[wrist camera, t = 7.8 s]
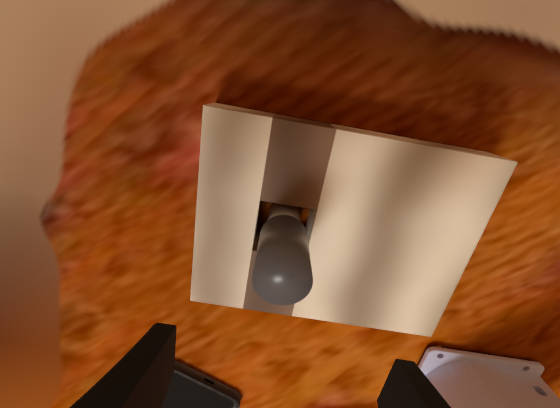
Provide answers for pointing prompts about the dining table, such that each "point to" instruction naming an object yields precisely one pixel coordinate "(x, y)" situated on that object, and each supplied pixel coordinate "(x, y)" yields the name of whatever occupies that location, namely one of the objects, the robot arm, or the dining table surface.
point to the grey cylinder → (283, 258)
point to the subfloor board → (341, 215)
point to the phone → (198, 391)
